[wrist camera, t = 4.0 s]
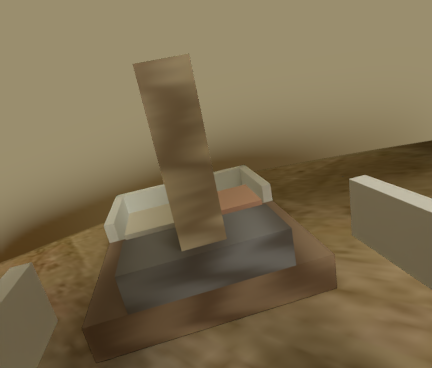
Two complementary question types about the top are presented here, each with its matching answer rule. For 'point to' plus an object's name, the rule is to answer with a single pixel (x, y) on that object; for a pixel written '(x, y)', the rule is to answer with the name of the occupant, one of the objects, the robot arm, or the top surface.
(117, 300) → the board
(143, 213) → the tile cream
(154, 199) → the tray
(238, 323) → the top surface
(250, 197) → the tile terracotta
